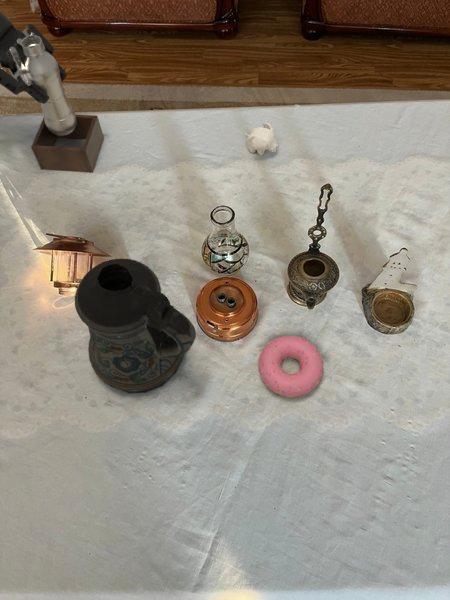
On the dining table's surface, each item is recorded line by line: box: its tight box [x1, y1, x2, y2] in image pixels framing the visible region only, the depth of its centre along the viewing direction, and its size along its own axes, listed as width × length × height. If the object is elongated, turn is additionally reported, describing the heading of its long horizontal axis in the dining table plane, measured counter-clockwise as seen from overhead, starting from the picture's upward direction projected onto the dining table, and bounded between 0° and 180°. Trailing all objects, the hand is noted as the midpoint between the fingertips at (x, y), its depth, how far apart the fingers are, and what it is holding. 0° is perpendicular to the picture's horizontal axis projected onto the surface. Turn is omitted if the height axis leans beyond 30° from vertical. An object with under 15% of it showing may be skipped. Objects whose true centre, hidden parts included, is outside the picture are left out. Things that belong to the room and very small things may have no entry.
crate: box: [30, 114, 105, 174], centre depth 114 cm, size 12×11×8 cm
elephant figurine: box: [244, 122, 279, 156], centre depth 114 cm, size 7×8×6 cm
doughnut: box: [257, 335, 324, 398], centre depth 88 cm, size 11×11×4 cm
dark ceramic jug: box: [74, 258, 197, 394], centre depth 82 cm, size 16×19×25 cm
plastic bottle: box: [21, 35, 77, 136], centre depth 102 cm, size 6×7×20 cm
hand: (55, 89), depth 101 cm, fingers closed on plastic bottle, 6 cm apart
